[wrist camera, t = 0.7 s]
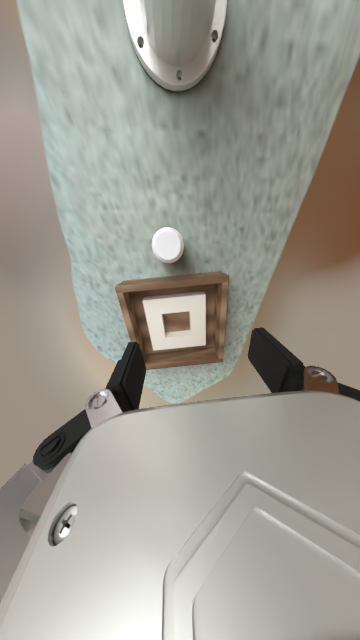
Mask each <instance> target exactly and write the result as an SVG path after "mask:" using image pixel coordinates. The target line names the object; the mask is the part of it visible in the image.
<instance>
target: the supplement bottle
mask: <svg viewBox="0 0 360 640" xmlns="http://www.w3.org/2000/svg"><path fill="white" fill-rule="evenodd" d="M152 249H153V252H154V254H155V256H156V257H157V258H158V259H159V260H160V261H162V262H164V263H173V262H175V261H177V260H178V259H179V258H180V257H181V255H182V253H183V250H184V242H183V239H182V236H181V235H180V233H179V232H178V231H177V230H175V229H173V228H170V227H164V228H161V229H160V230H158V231H157V232H156V233H155V235H154V237H153V240H152Z"/></svg>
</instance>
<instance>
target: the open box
mask: <svg viewBox="0 0 360 640" xmlns="http://www.w3.org/2000/svg"><path fill="white" fill-rule="evenodd" d="M228 283H229V276H228V275H226V274H224V273H222V272H220V271H218V272H208V273H198V274H187V275H177V276H167V277H157V278H147V279H136V280H126V281H123V282H121V283H120V284H119V285H117V286H116V287H115V290H116V293H117V296H118V300H119V303H120V306H121V310H122V313H123V317H124V320H125V323H126V327H127V330H128V333H129V337H130V340H131V342H137V343H139V345H140V348H141V352H142V355H143V359H144V362H145V365H146V370H149V369H159V368H168V367H178V366H187V365H197V364H206V363H216V362H223V354H224V340H225V326H226V311H227V297H228ZM201 291H204V293H205V294H206V345H204V346H194V347H185V348H175V349H165V350H156V351H153V347H152V342H151V338H150V333H149V329H148V324H147V320H146V315H145V310H144V306H143V301H142V300H143V299H144V297H150V296H160V295H171V294H181V293H191V292H201ZM163 318H164V325H165V331H166V332H175V331H185V330H190V321H189V311H188V312H178V313H168V314H163Z"/></svg>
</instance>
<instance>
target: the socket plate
mask: <svg viewBox="0 0 360 640" xmlns="http://www.w3.org/2000/svg"><path fill="white" fill-rule="evenodd" d="M142 301H143V306H144V310H145V315H146V320H147V324H148V329H149V333H150V338H151V342H152V347H153V351H156V350H165V349H175V348H185V347H194V346H204V345H206V294H205V293H204V291H201V292H191V293H181V294H171V295H160V296H150V297H144V299H143V300H142ZM188 311H189V321H190V330H185V331H175V332H166V331H165V325H164V318H163V314H168V313H178V312H188Z"/></svg>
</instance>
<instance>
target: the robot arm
mask: <svg viewBox="0 0 360 640" xmlns="http://www.w3.org/2000/svg"><path fill="white" fill-rule="evenodd" d="M123 6H124V11H125V17H126V22H127V26H128V30H129V35H130V39H131V41H132V44H133V47H134V49H135V52H136V54H137V56H138V58H139V60H140V62H141V64H142V66H143V67H144V69H145V70H146V72H147V73H148V74H149V76H150V77H151V78H152V79H153V80H154V81H155V82H156V83H157V84H159V85H160V86H162V87H164V88H165V89H168V90H172V91H183V90H187V89H190V88H191V87H193V86H194V85H196V84H197V83H198V82H199V81H200V80H201V79H202V78H203V77H204V76H205V75H206V73H207V71H208V70H209V68H210V67H211V65H212V63H213V61H214V58H215V56H216V54H217V51H218V48H219V44H220V41H221V37H222V33H223V28H224V24H225V18H226V10H227V0H123ZM179 80H180V81H179ZM248 358H249V360H250V362H251V363H252V365H253V366H254V367H255V369H256V370H257V372H258V373H259V375H260V376H261V377H262V379H263V381H264V382H265V383H266V385H267V386H268V388H269V389H270V390H271V392H272V393H270V394H261V395H251V396H242V397H233V398H225V399H215V400H206V401H198V402H190V403H181V404H173V405H165V406H157V407H150V408H143V409H139V403H140V399H141V394H142V389H143V384H144V379H145V374H146V365H145V362H144V359H143V355H142V352H141V348H140V345H139V343H137V342H129V343H128V345H127V347H126V350H125V352H124V354H123V356H122V359H121V360H119V361H118V362H117V365H116V367H115V369H114V372H113V373H112V375H111V378H110V380H109V382H108V384H107V386H106V388H105V389H102V390H99V391H97V392H95V393H94V394H93V395H91V396H90V398H89V399H88V400H87V402H86V405H85V410H83V411H82V412H81V413H79V414H78V415H77V416H75V417H74V418H73V419H71V420H70V421H68V422H67V423H66V424H65V425H63V426H62V427H60V428H59V429H58V430H56V431H55V432H54V433H52V434H51V435H50V436H48V437H47V438H46V439H45V440H44V441H43V442H42V443H41V444H40V445H39V447H38V448H37V450H36V452H35V454H34V456H33V460H32V461H31V462H30V463H29V464H28V465H27V464H25V465H24V466H22V467H21V468H20V470H19V471H17V472H16V473H15V474H14V475H13V476H12V478H11V479H9V480H8V481H7V482H6V483H5V485H4V486H2V487H1V489H0V640H360V391H359V390H357V389H354V388H351V387H349V386H346V385H343V384H340V383H338V382H337V380H336V378H335V377H334V375H332V374H331V373H330V372H328V371H327V370H325V369H323V368H320V367H316V366H307V367H305V366H304V365H303V363H302V362H301V361H300V360H299V359H298V358H297V357H296V356H294V355H293V354H292V353H291V352H290V351H289V350H288V349H287V348H285V347H284V346H283V345H282V344H281V343H280V342H279V341H277V340H276V339H275V338H274V337H273V336H272V335H271V334H269V333H268V332H267V331H266V330H265V329H264V328H255V329H254V330H253V331H252V335H251V341H250V346H249V352H248Z"/></svg>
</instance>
